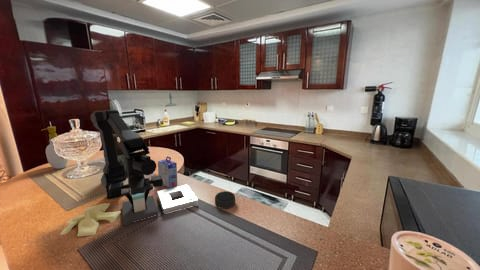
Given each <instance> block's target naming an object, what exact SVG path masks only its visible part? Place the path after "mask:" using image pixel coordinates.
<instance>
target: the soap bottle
mask: <svg viewBox="0 0 480 270" xmlns="http://www.w3.org/2000/svg"><path fill="white" fill-rule="evenodd" d="M56 127H57V126H47V128H43V129H41V130H40V131H41V132H42V131H44V130H46V129H47V131H48V133H49V134H48V137H49V139H48V141H49V144H48V145H47V146H46V148H45V155H46V159H47V160H46V161H47V162H48V164H49V165H50V167H51V168H53V169H56V170H57V169H58V170H59V169H64V168H67V164H68V159H64V158H61V157H59V156H58V155H57V154H56V153H55V151H54V147H53V143H52V142H51V139H52V138H54V137H57V138H58V134H57V133H56V129H57V128H56Z"/></svg>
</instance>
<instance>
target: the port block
mask: <svg viewBox="0 0 480 270" xmlns="http://www.w3.org/2000/svg"><path fill="white" fill-rule="evenodd" d="M156 192H157V199H158V202H159V205H160V207H161V210H163V211H162V214H163V213H164V214H165V213H168V212H172V211H175V210H179V209H184V208H187V207H190V206H194V205H198V206H199V199H198V197H197V196H196V195H195V193H194V191H192V189H191V187H190V186H189V185H188V184H184V185H180V186H173V187H168V188H165V189H162V190H157V191H156ZM178 196H179V197H181V196H182V197H181V198H178ZM174 197H175V198H178V199H174ZM172 199H174V200H172ZM164 214H163V215H164Z"/></svg>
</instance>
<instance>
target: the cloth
mask: <svg viewBox="0 0 480 270" xmlns="http://www.w3.org/2000/svg"><path fill="white" fill-rule="evenodd" d="M110 205H111V203H109V202H108V203H105V202H104V203H100V204H96V205H92V206H89V207H87V208H86V209H84V210H83V212H84V213H83V214H80V215H76V216H74V217H72V218H71V219H69V220H68V221H67V223H66V224H67V226H66V227H65V228H64V229H63V230H62V231H61V232H60V234H59V235H61V236H62V235H63V236H64V235H66V234H68V233H70V232H71V231H72V229H73V228H74V227H75V226H77V227H78V229H77V230H78V232H77V234H76V235H77V236H76V237H88V236H93V235H96V234H97V230H98V228H99V226H100V223H99V221H107V222H109V223H110V224H112V223H115V222H116V221H117V219H118V218H119V217H120V215H121V214H122V211H121V210H118V211H109V212H106V211H107V209H108V208H109V207H110Z"/></svg>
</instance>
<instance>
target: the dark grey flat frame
mask: <svg viewBox="0 0 480 270" xmlns="http://www.w3.org/2000/svg"><path fill="white" fill-rule="evenodd" d="M121 207H122V211H121V214H122V226H123V225H124V226H126V224H127V225H130V224H129V223H131V222H134V221H137V220H141V219H144V218H148V217H151V216H154V215H157V214H158V215H159V210H158V208H157V205H156V200H155V197H154V195H148V197H147V200H146V203H145V208H146V210H143V211H139V212H135V213H134V211H133V210H134V206H132V204H131V203H130V201H129V200H126V201H122V206H121ZM148 219H149V218H148ZM141 221H142V220H141ZM134 223H135V222H134ZM131 224H132V223H131Z"/></svg>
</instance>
